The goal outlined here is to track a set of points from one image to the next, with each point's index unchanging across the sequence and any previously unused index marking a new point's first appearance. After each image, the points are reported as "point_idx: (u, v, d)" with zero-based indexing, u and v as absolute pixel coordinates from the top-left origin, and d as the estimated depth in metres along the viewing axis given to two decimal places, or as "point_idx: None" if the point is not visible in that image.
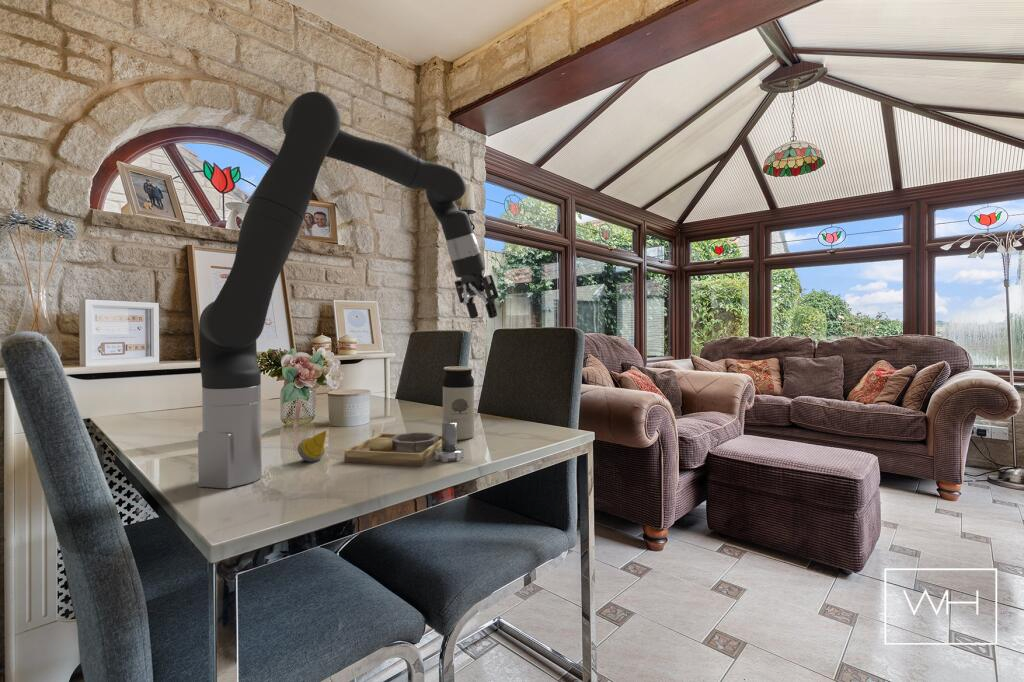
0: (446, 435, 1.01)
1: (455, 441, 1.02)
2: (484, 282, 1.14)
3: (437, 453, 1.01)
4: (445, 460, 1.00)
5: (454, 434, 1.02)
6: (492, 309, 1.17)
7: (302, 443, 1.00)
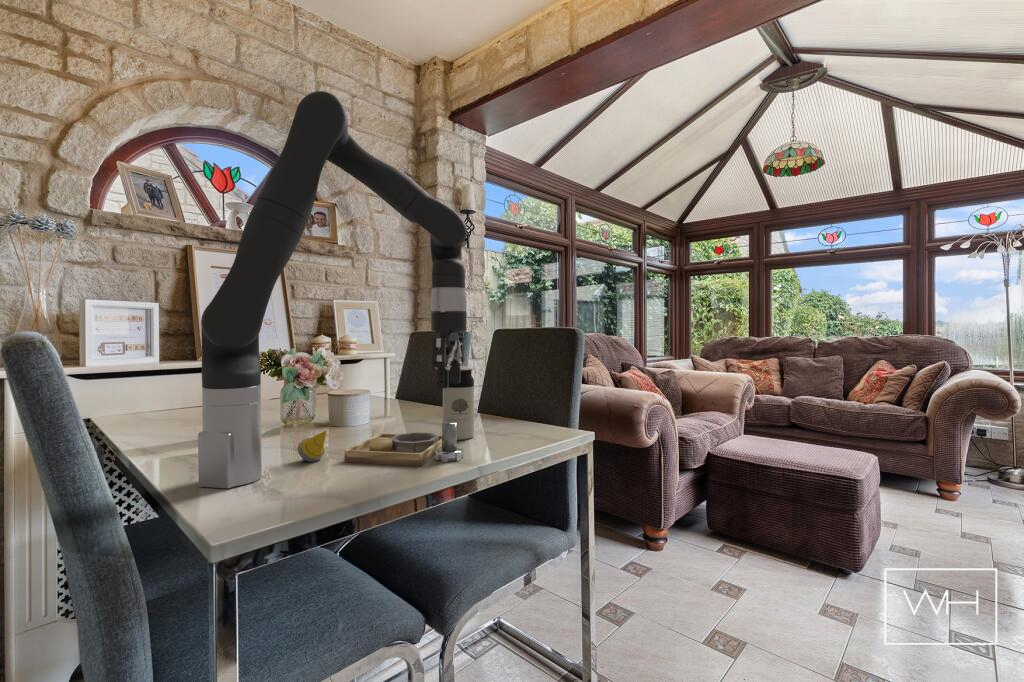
0: (446, 435, 1.01)
1: (455, 441, 1.02)
2: None
3: (437, 453, 1.01)
4: (445, 460, 1.00)
5: (454, 434, 1.02)
6: (439, 378, 0.97)
7: (302, 443, 1.00)
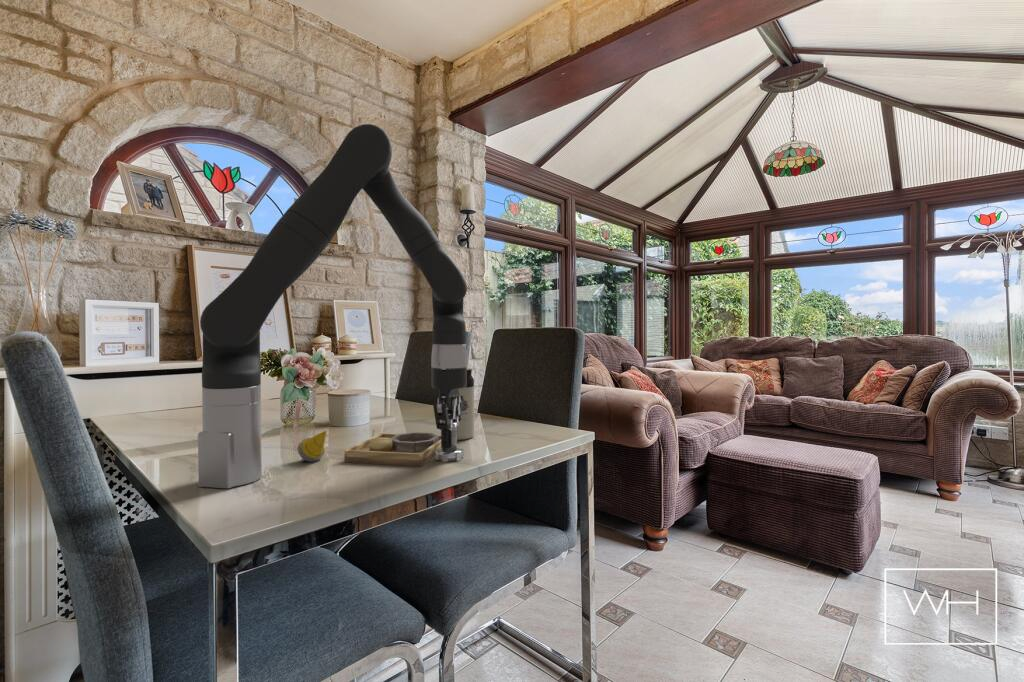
0: None
1: (455, 441, 1.02)
2: None
3: (437, 453, 1.01)
4: (445, 460, 1.00)
5: (454, 434, 1.02)
6: (443, 438, 1.00)
7: (302, 443, 1.00)
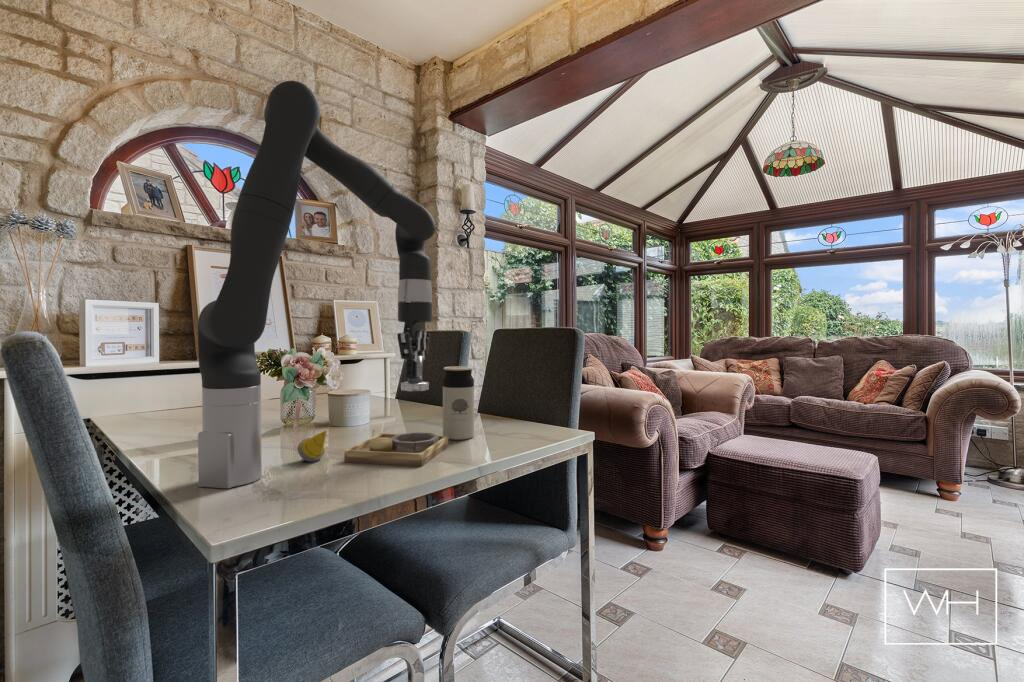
0: None
1: (420, 373, 1.07)
2: None
3: (403, 384, 1.06)
4: (410, 389, 1.05)
5: (419, 366, 1.07)
6: (408, 369, 1.05)
7: (302, 443, 1.00)
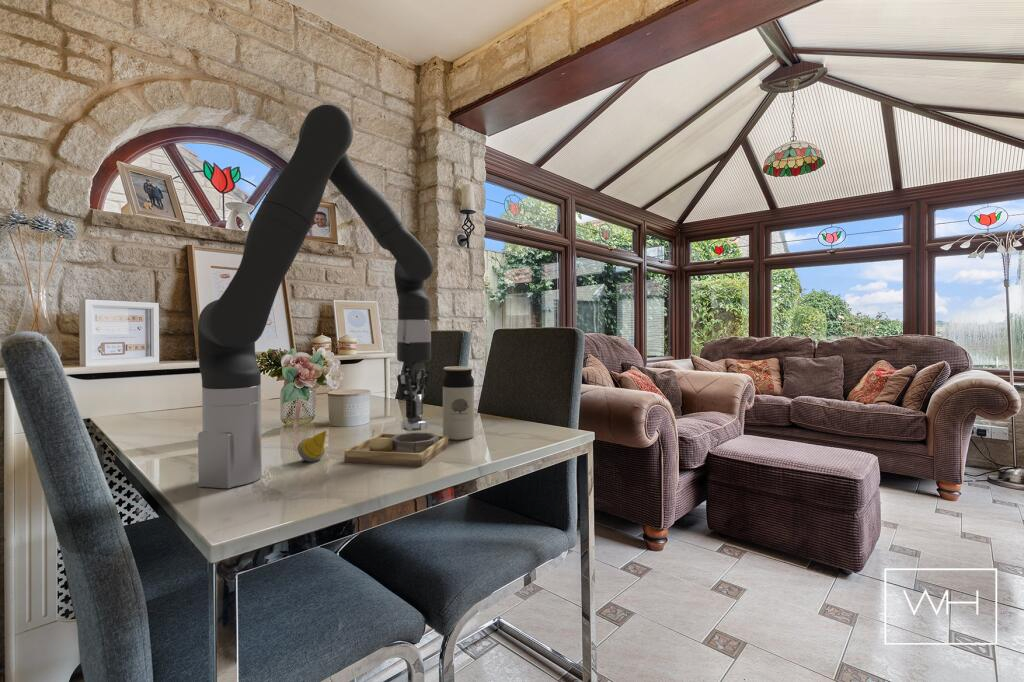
0: None
1: (419, 412, 1.08)
2: None
3: (402, 423, 1.07)
4: (410, 429, 1.06)
5: (419, 405, 1.07)
6: (408, 409, 1.06)
7: (302, 443, 1.00)
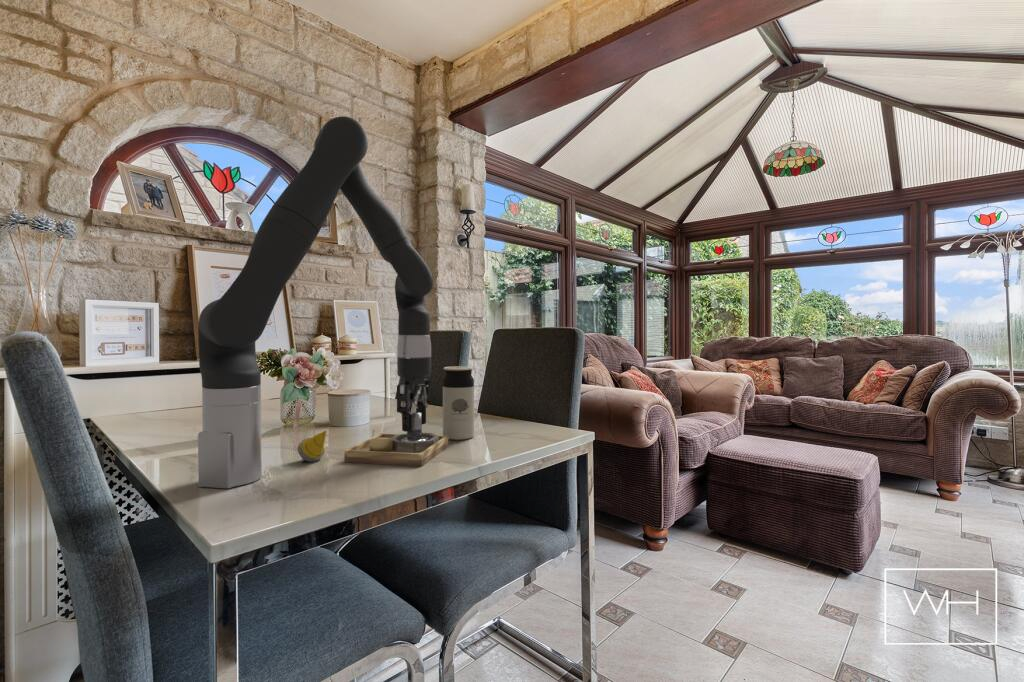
0: None
1: (419, 430, 1.08)
2: None
3: None
4: None
5: (419, 423, 1.07)
6: (404, 422, 1.03)
7: (302, 443, 1.00)
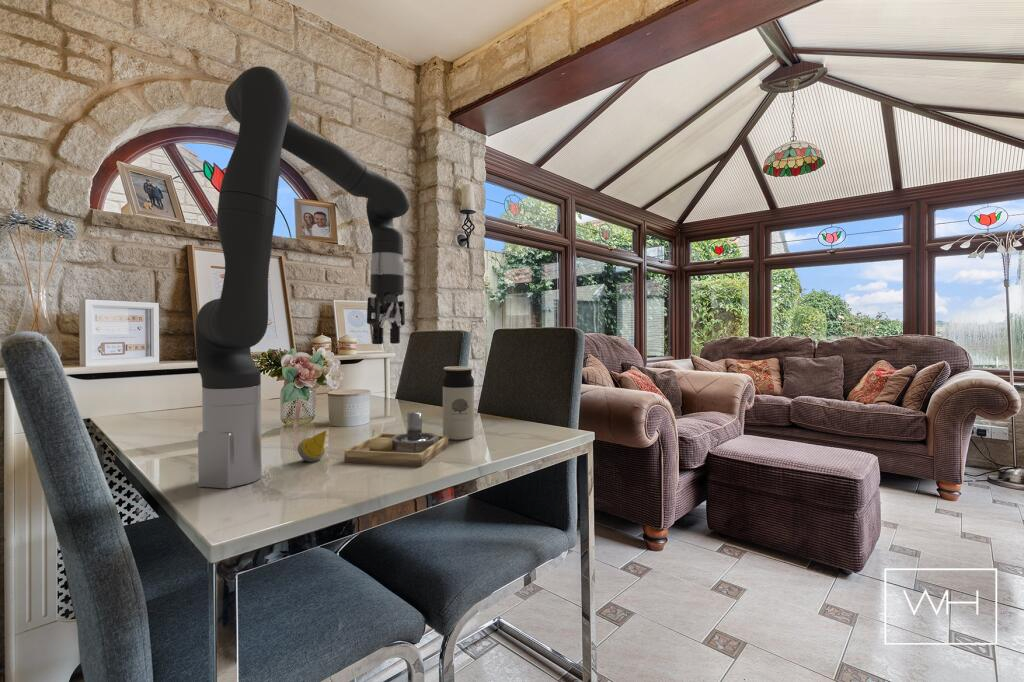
0: (411, 424, 1.07)
1: (419, 430, 1.08)
2: None
3: None
4: None
5: (419, 423, 1.07)
6: (374, 334, 1.07)
7: (302, 443, 1.00)
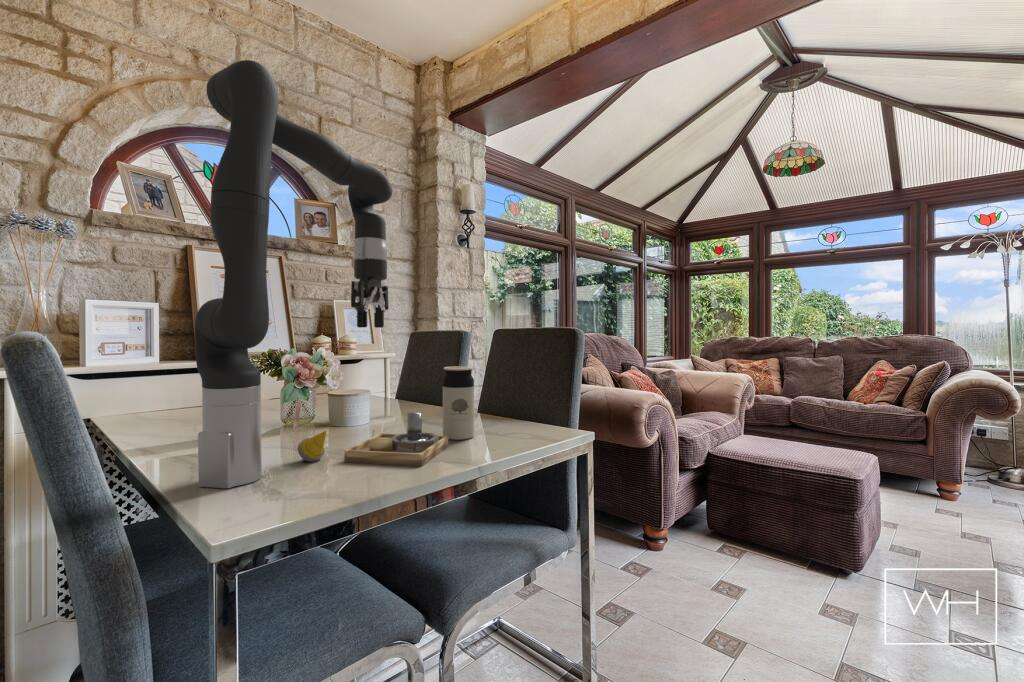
0: (411, 424, 1.07)
1: (419, 430, 1.08)
2: None
3: None
4: None
5: (419, 423, 1.07)
6: (358, 318, 1.09)
7: (302, 443, 1.00)
